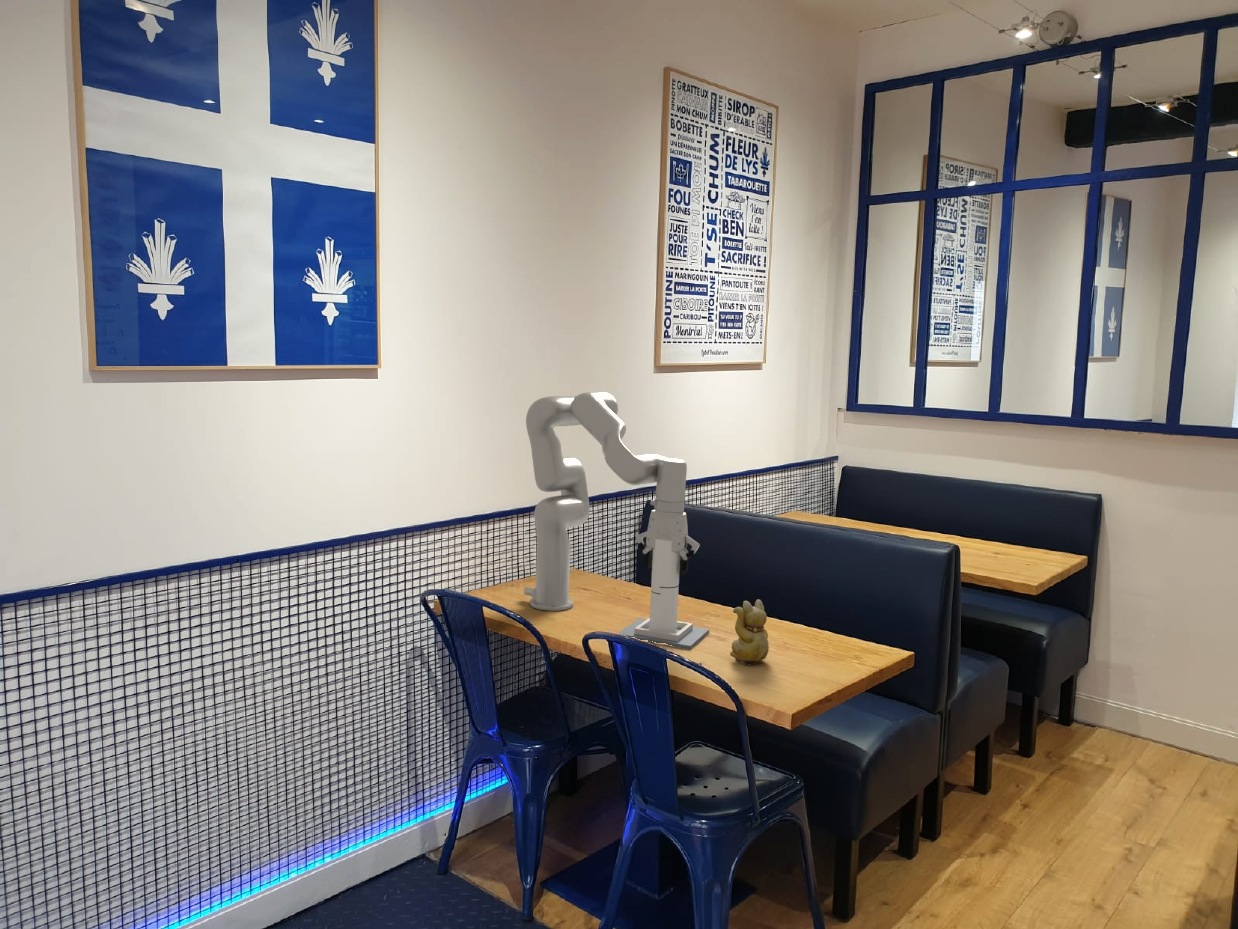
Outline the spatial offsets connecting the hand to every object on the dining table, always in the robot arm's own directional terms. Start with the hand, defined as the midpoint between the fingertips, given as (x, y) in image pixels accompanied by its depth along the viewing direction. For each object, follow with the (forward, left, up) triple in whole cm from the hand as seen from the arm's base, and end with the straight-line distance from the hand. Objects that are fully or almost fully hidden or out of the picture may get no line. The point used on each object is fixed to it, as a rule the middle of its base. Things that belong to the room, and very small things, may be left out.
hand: (665, 571), depth 245 cm
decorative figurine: (+26, -9, -17) cm, 33 cm away
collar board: (0, 0, -17) cm, 17 cm away
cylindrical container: (0, 0, -16) cm, 16 cm away
